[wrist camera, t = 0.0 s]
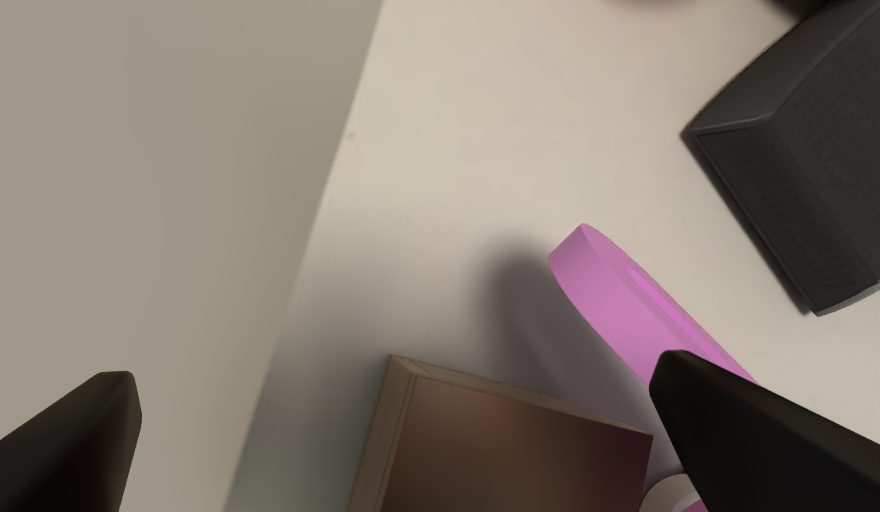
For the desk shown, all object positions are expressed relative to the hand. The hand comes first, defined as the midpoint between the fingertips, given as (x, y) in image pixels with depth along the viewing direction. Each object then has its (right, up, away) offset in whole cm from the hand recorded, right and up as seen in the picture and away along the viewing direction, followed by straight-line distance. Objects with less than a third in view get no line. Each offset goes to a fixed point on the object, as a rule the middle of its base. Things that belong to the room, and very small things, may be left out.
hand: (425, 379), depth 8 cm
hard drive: (+23, +9, +19) cm, 32 cm away
